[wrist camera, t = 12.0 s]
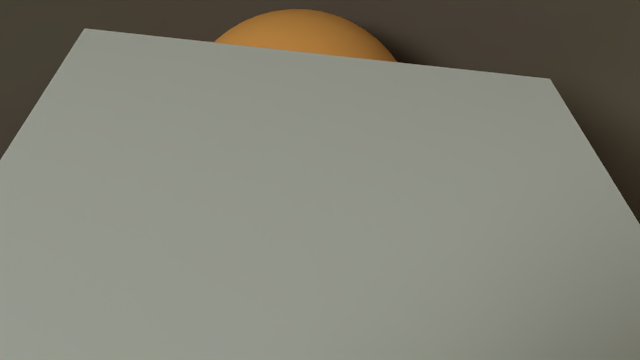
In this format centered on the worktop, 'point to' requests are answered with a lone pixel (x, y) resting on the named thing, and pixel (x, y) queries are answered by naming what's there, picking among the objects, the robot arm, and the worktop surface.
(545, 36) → the worktop surface
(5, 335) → the pale grey cube
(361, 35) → the ball
